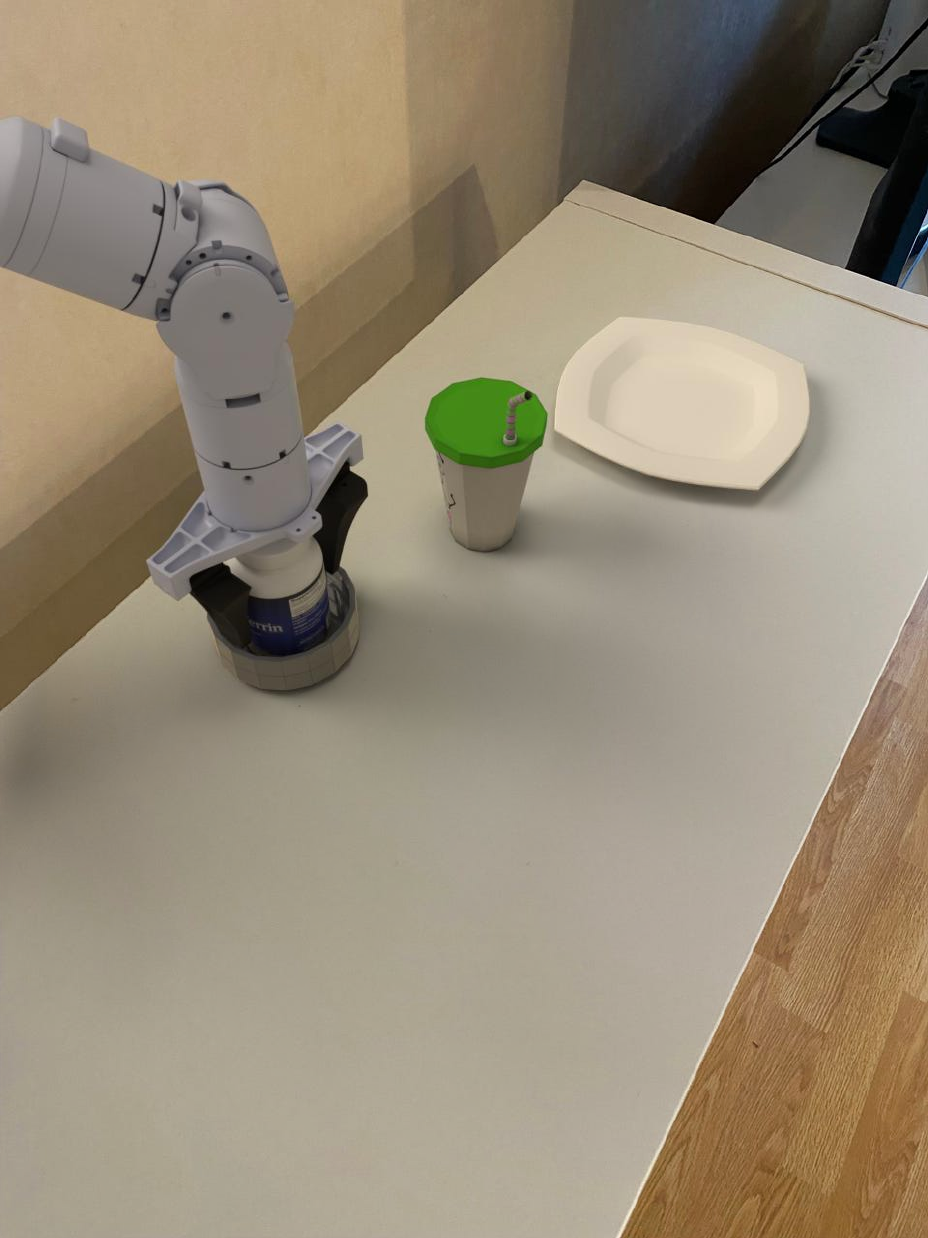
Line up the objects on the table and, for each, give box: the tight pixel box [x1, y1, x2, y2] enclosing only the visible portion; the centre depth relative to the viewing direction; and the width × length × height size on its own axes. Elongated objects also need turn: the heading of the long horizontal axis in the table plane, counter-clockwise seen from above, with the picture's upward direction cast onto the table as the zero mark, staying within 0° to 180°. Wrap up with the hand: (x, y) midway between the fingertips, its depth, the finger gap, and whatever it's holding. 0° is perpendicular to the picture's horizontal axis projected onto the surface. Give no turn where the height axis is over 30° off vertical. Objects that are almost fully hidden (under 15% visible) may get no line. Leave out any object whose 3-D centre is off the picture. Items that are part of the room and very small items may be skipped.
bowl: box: [206, 565, 360, 691], centre depth 65 cm, size 9×9×4 cm
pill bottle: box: [225, 536, 332, 657], centre depth 62 cm, size 6×6×10 cm
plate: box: [553, 316, 811, 491], centre depth 80 cm, size 19×19×2 cm
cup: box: [424, 376, 549, 553], centre depth 67 cm, size 8×8×15 cm
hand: (281, 600), depth 63 cm, fingers open, 7 cm apart
